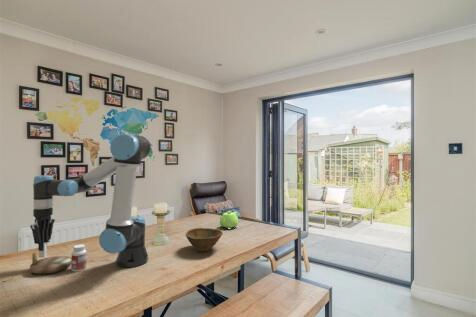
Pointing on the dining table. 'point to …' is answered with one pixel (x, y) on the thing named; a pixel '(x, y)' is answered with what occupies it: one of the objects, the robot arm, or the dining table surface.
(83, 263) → the pill bottle
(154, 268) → the dining table surface
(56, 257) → the disc
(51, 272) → the susan base
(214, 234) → the bowl
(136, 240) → the robot arm
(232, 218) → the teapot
